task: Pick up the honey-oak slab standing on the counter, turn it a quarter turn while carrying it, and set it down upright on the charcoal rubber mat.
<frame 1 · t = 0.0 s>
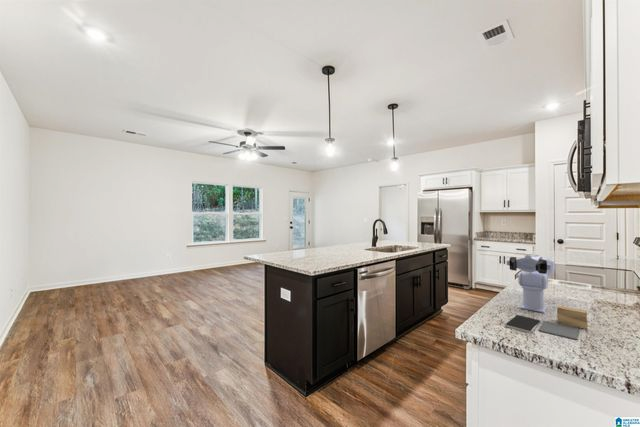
hand: (524, 266, 105), 22 cm above the countertop, tool horizontal, fingers open, 7 cm apart
smartphone: (523, 325, 102), on the countertop
oak slab: (572, 324, 101), on the countertop
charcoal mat: (558, 330, 96), on the countertop
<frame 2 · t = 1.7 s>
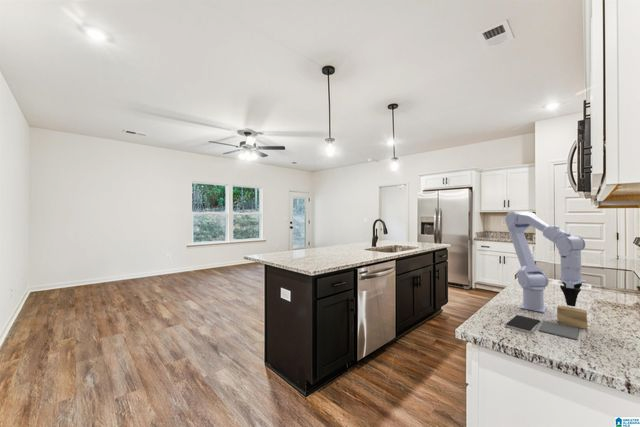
hand: (571, 303, 101), 8 cm above the countertop, tool pointing down, fingers open, 7 cm apart
nothing on the countertop moved.
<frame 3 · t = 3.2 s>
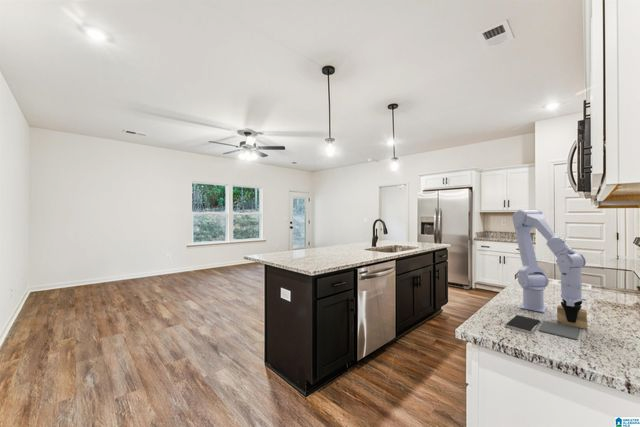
hand: (572, 320, 101), 1 cm above the countertop, tool pointing down, fingers closed on oak slab, 4 cm apart
oak slab: (572, 324, 101), on the countertop, touching gripper
everything else where it was.
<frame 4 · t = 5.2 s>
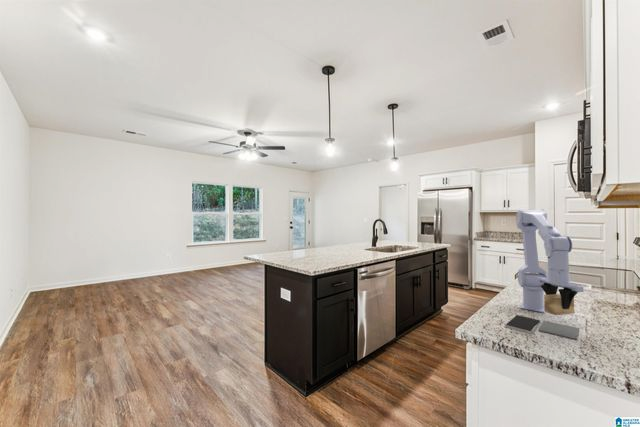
hand: (559, 306, 96), 8 cm above the countertop, tool pointing down, fingers closed on oak slab, 4 cm apart
oak slab: (559, 312, 96), point 6 cm above the countertop, touching gripper
everything else where it was.
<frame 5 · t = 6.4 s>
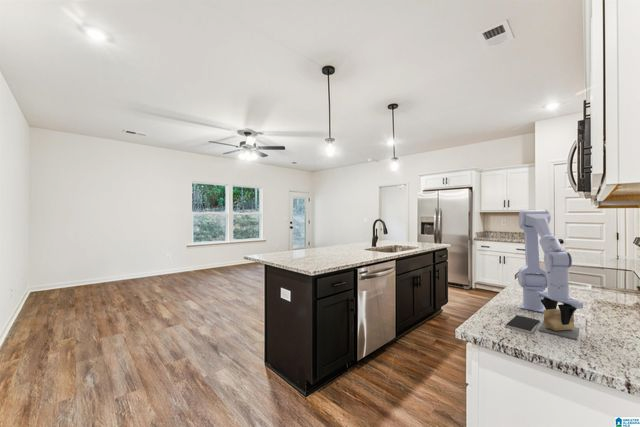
hand: (558, 321, 96), 3 cm above the countertop, tool pointing down, fingers closed on oak slab, 4 cm apart
oak slab: (558, 327, 96), point 1 cm above the countertop, touching gripper
everything else where it was.
when the fingers open (3 cm above the countertop, at t = 7.1 s): oak slab stays where it is, resting on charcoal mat.
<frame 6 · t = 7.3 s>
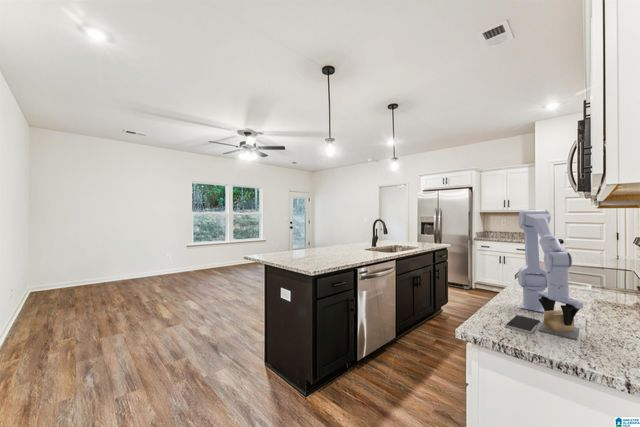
hand: (558, 321, 96), 3 cm above the countertop, tool pointing down, fingers open, 6 cm apart
oak slab: (558, 328, 96), resting on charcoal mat
everything else where it was.
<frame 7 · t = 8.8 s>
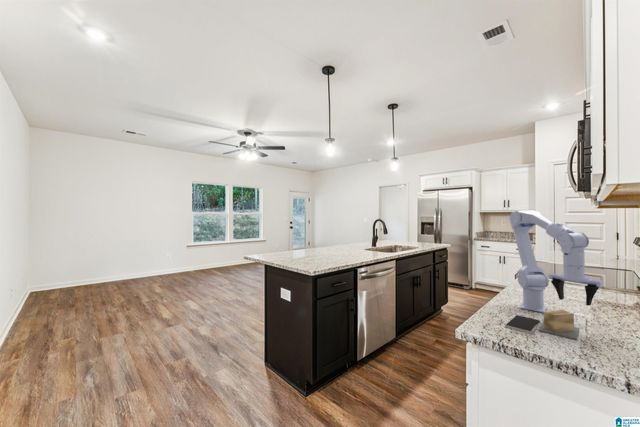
hand: (574, 301, 98), 9 cm above the countertop, tool pointing down, fingers open, 7 cm apart
nothing on the countertop moved.
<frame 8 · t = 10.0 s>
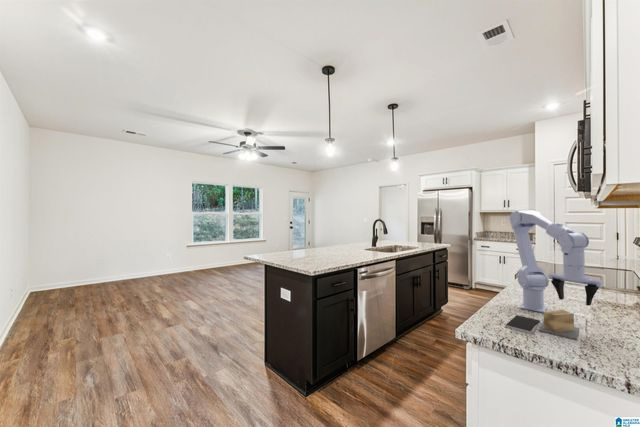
hand: (574, 301, 98), 9 cm above the countertop, tool pointing down, fingers open, 7 cm apart
nothing on the countertop moved.
at the end: oak slab 0.0 cm off-centre on the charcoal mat, point 0.4 cm above the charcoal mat's base; oak slab tilted 0°; the gripper is holding nothing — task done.
